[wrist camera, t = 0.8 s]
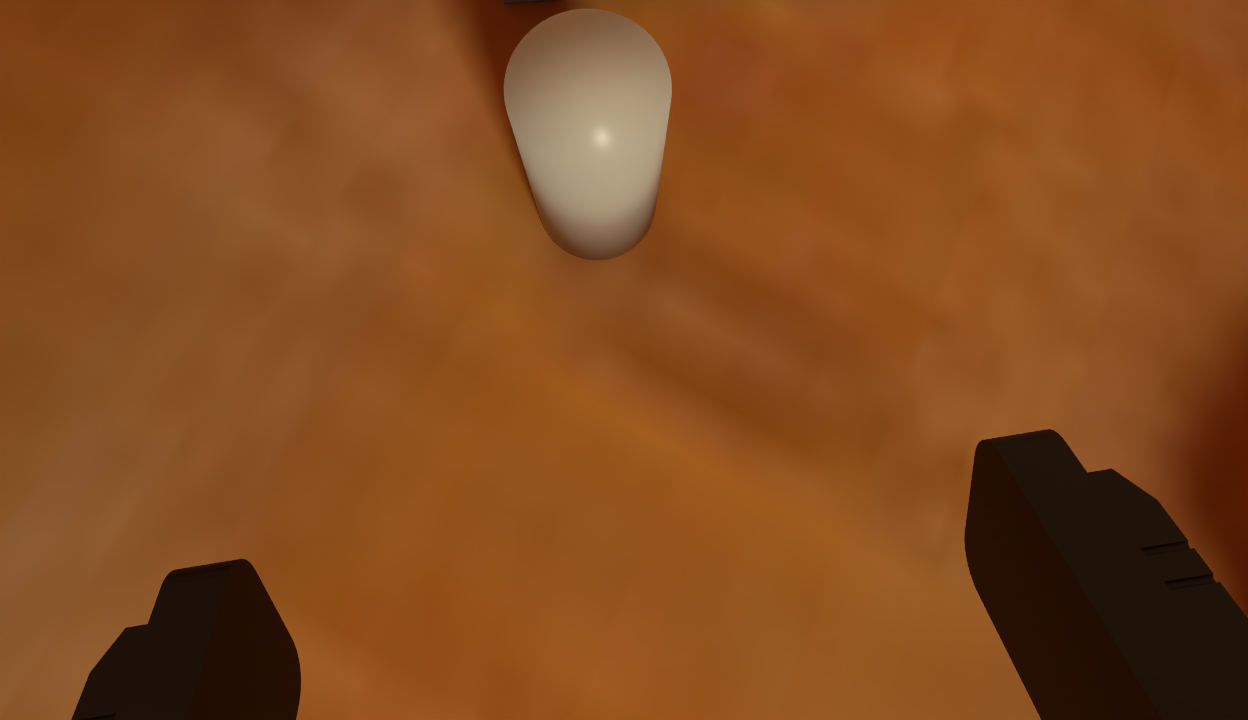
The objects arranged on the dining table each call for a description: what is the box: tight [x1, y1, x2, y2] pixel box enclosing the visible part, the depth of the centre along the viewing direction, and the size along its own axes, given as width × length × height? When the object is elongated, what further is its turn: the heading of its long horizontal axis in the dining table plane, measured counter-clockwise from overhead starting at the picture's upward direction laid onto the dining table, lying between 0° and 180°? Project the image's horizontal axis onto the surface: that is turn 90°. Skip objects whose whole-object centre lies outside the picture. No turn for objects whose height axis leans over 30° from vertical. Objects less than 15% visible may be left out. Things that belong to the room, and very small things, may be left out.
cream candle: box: [504, 9, 672, 260], centre depth 31 cm, size 4×4×11 cm
